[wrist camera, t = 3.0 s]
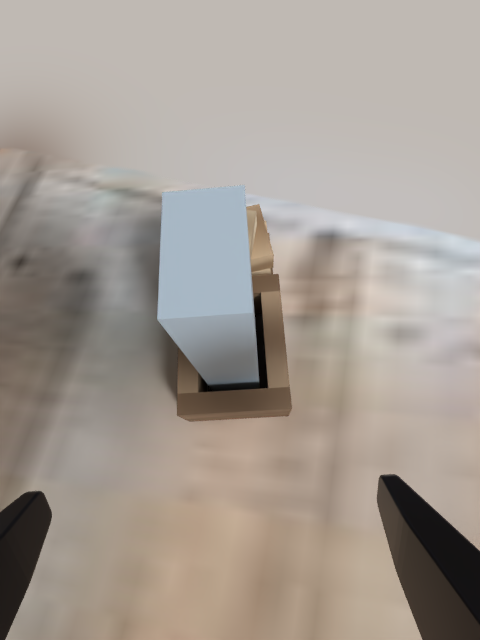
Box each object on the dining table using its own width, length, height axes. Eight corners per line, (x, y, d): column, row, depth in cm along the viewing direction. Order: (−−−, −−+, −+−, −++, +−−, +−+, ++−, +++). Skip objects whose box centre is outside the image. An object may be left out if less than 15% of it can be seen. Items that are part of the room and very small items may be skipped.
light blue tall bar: (259, 390, 24) (252, 312, 11) (214, 393, 24) (157, 319, 11) (255, 320, 25) (244, 185, 13) (213, 323, 25) (162, 192, 13)
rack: (288, 415, 23) (291, 408, 20) (189, 421, 23) (176, 415, 20) (271, 240, 28) (272, 211, 24) (190, 246, 28) (180, 219, 25)
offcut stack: (273, 292, 25) (275, 256, 20) (192, 299, 25) (176, 264, 21) (268, 233, 27) (268, 188, 22) (192, 239, 27) (177, 196, 23)
